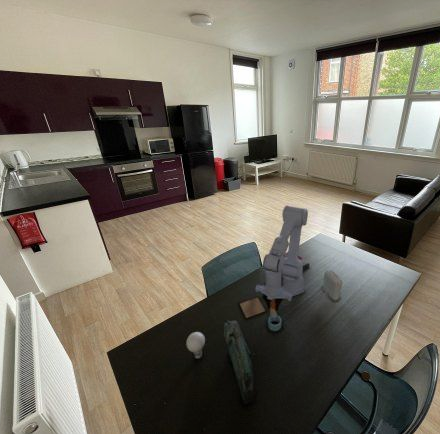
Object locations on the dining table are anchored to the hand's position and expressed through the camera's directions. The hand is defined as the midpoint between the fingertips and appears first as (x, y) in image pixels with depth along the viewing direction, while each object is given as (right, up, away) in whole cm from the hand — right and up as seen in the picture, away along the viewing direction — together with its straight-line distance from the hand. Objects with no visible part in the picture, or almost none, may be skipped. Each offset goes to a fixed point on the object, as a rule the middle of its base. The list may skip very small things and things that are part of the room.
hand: (273, 308), depth 96 cm
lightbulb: (-27, -14, -9) cm, 32 cm away
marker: (0, -3, +2) cm, 4 cm away
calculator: (+11, +8, +38) cm, 40 cm away
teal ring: (+1, -8, +3) cm, 9 cm away
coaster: (-10, -4, +12) cm, 16 cm away
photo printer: (+28, 0, +21) cm, 35 cm away
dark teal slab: (-11, -17, -15) cm, 25 cm away
